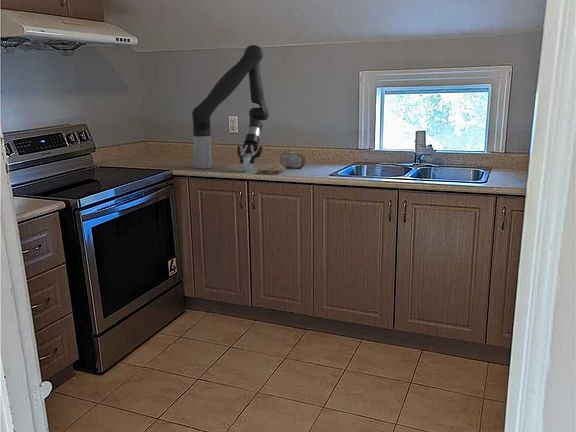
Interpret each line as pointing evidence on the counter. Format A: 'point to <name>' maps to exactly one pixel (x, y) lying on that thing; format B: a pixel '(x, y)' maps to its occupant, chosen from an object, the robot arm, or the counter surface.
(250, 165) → the jar
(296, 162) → the tin
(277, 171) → the walnut board
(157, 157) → the counter surface
